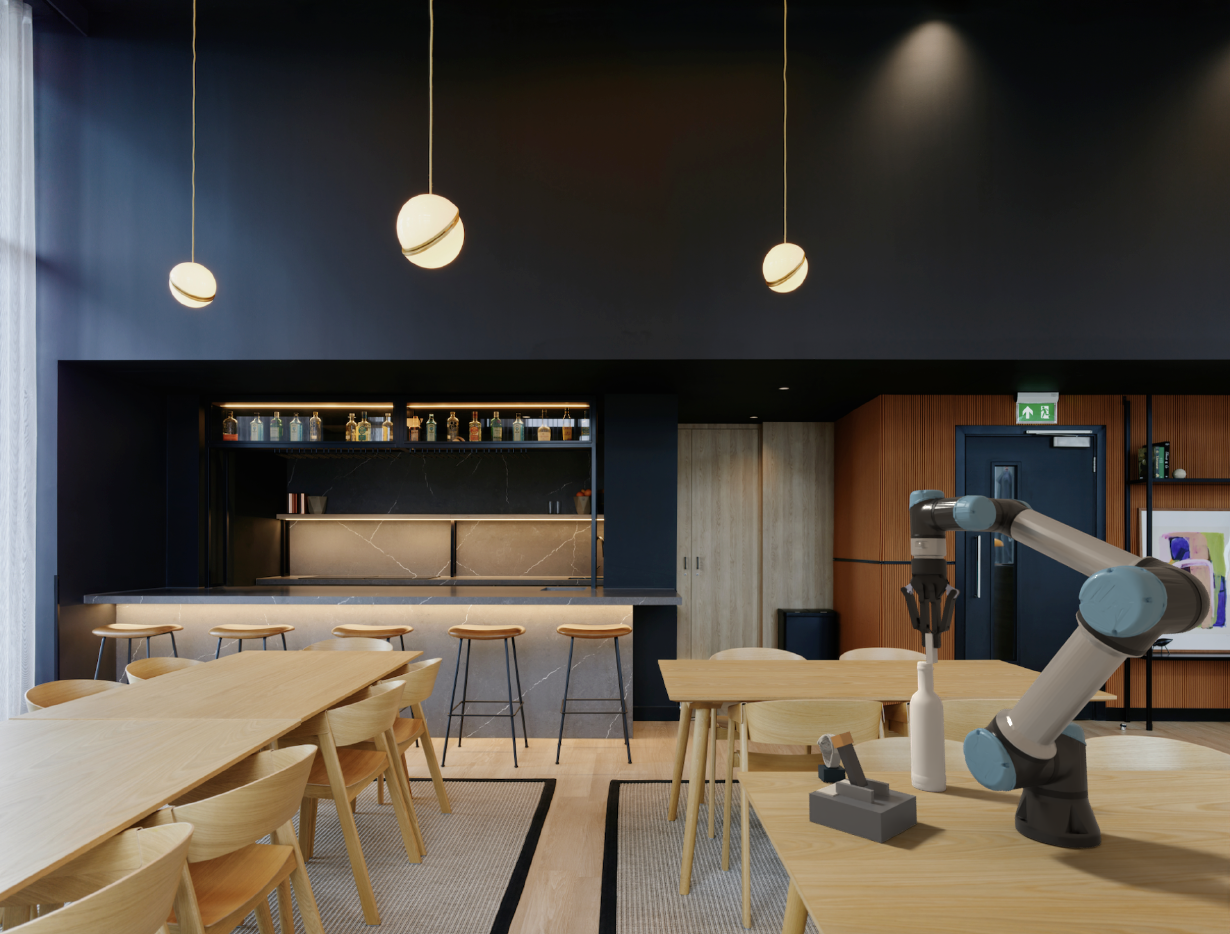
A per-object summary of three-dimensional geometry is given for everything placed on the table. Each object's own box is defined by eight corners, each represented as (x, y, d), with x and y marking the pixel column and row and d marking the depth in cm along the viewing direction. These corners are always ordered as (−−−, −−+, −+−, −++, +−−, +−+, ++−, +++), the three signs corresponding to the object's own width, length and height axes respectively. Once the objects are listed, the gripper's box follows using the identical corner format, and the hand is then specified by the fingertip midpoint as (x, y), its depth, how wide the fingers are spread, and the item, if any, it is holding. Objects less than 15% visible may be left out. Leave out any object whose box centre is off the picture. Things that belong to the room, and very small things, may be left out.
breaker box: (916, 823, 156) (915, 784, 157) (881, 843, 145) (880, 800, 146) (847, 804, 167) (846, 767, 168) (809, 820, 156) (809, 781, 157)
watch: (836, 774, 189) (836, 730, 191) (848, 784, 181) (847, 738, 183) (815, 774, 189) (814, 730, 190) (825, 784, 181) (825, 738, 182)
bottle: (912, 790, 178) (909, 663, 182) (909, 780, 186) (906, 659, 189) (948, 793, 176) (944, 665, 179) (944, 784, 183) (940, 660, 187)
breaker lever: (870, 784, 158) (849, 731, 162) (860, 788, 155) (839, 734, 159) (860, 786, 159) (840, 733, 164) (850, 791, 156) (830, 737, 161)
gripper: (893, 556, 171) (896, 660, 168) (950, 557, 162) (954, 667, 159) (908, 557, 176) (911, 657, 174) (964, 558, 167) (968, 664, 164)
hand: (931, 662), depth 166 cm, fingers closed
